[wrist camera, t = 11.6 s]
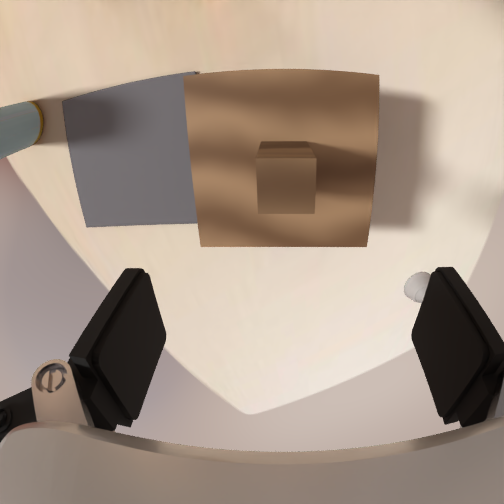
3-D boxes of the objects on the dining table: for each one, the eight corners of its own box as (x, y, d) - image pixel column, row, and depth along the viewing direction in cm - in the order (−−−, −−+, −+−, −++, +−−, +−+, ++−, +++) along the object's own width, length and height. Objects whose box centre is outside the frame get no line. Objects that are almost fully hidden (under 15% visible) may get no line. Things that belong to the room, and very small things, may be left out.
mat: (63, 101, 32) (62, 101, 31) (195, 71, 30) (194, 71, 30) (88, 226, 41) (86, 227, 41) (209, 221, 39) (208, 223, 39)
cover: (185, 76, 24) (153, 73, 17) (376, 75, 22) (410, 72, 15) (202, 243, 32) (183, 287, 25) (364, 243, 31) (385, 287, 24)
